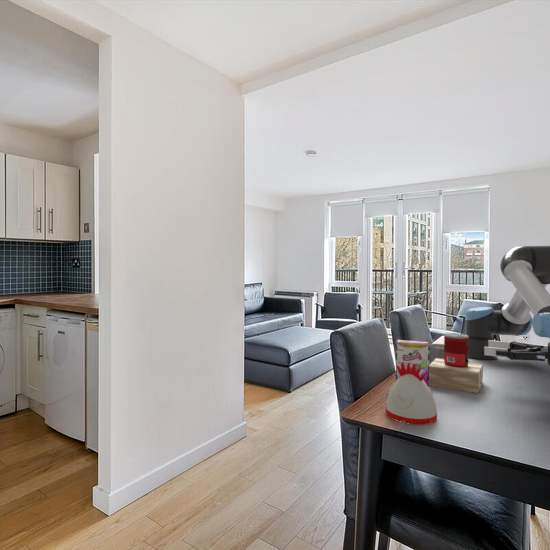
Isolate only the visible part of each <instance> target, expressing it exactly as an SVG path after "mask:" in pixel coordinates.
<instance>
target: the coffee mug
mask: <svg viewBox="0 0 550 550" xmlns="http://www.w3.org/2000/svg"><path fill="white" fill-rule="evenodd" d="M429 345H430V352H429V365H430V364H431V363H432V362H433V361H434V360H435V359H436V358H440V359H444V343H429Z"/></svg>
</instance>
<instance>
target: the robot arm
mask: <svg viewBox="0 0 550 550" xmlns="http://www.w3.org/2000/svg"><path fill="white" fill-rule="evenodd" d="M500 271H501V274H502V275H503V277H504V279H505V280H507V281H508V282H511V284H512V285H513V287H514V288H515V289H516V290H515V292H514V293H513V296H512V297H511V300H510V301H509V303H506V304H505V305H503V307H502V308H501V309H500V310H498V309H497V310H496V309H494V308H493V307H491V306H479V307H471V308H468V309H467V310H466V311H465V316H464V317H465V318H464V321H465V324H464V326H465V327H464V330H465V333H464V334H465V335H468V336H469V357H468V359H476V360H487V361H488V360H496V359H497V358H504V359H505V358H506V359H509V360H510V361H532V362H533V361H534V362H535V361H537V362H538V361H539V362H545V361H546V360H547V365H548V366H549V367H550V341H549V342H548V343H547V348H545V346H544V345H537V344H531V343H525V342H521V341H503V340H502V341H501V340H493V337H494V336H495V335H496V336H497V335H498V336H516V337H520V336H526V335H527V334H529V333H530V331H531V330H533V332H534V334H535V335H536V336H538V337H540V338H548V339H550V292H549V291H548V290H547V289H546V287H547V286H548V285H550V245H520V246H519V245H518V246H515V247H513V248H511V249H510V250H508V251H507V252H506V253H505V254H504V255H503V257H502V258H501V261H500ZM531 313H532V315H533V317H532V315H531Z"/></svg>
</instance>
